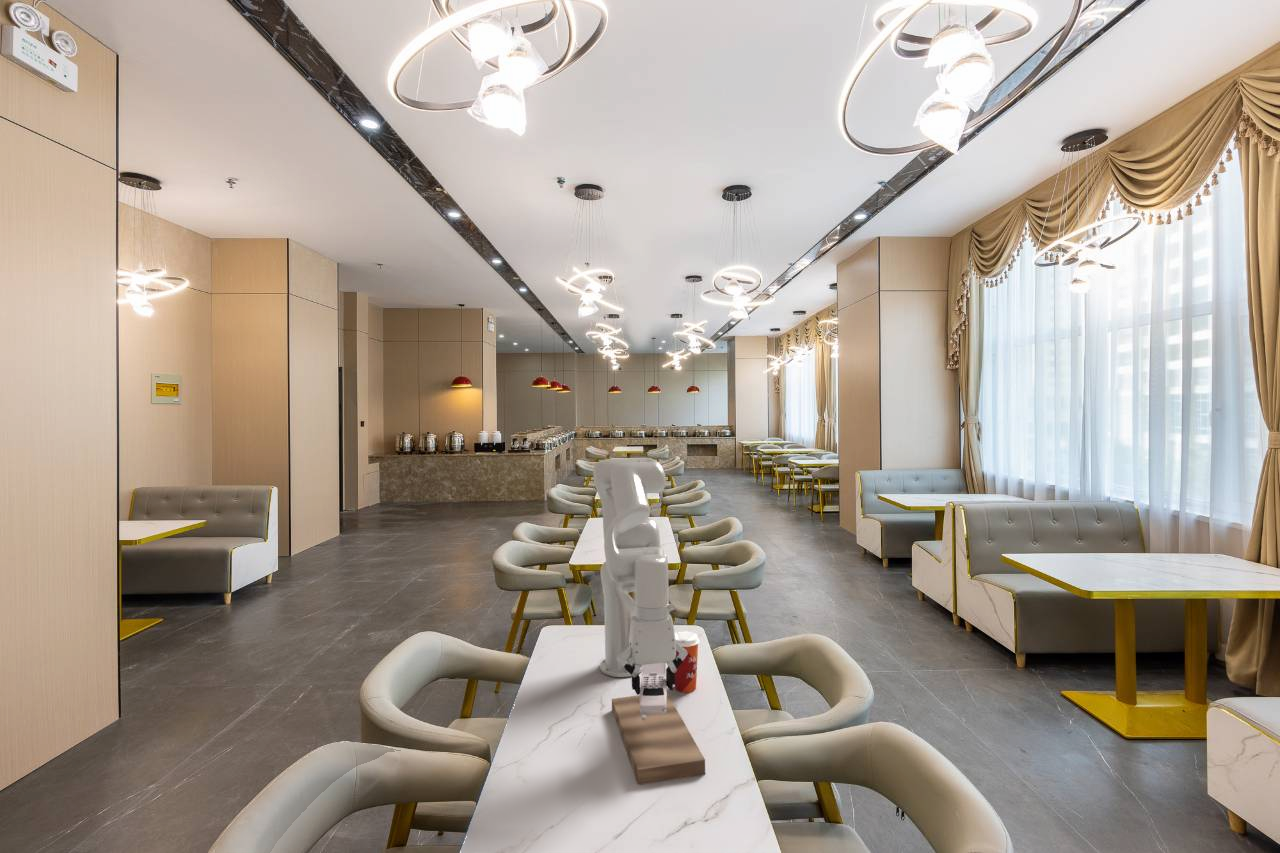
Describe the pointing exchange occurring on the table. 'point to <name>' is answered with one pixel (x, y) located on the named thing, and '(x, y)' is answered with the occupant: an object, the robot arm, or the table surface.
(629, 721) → the walnut stand
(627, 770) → the table surface
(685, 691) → the paper cup
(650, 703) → the mobile phone
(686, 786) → the table surface
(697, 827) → the table surface
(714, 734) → the table surface
